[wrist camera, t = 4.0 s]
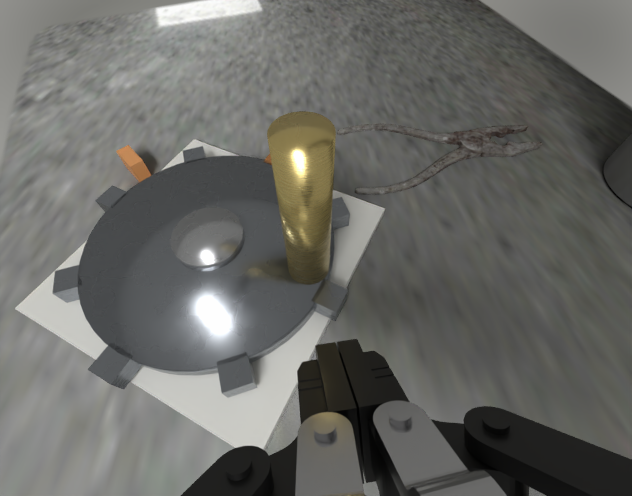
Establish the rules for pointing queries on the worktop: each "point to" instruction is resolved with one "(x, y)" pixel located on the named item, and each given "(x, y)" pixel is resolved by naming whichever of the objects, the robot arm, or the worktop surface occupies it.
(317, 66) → the worktop surface
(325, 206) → the sprocket
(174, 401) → the base plate
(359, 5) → the worktop surface
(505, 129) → the pliers
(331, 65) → the worktop surface
